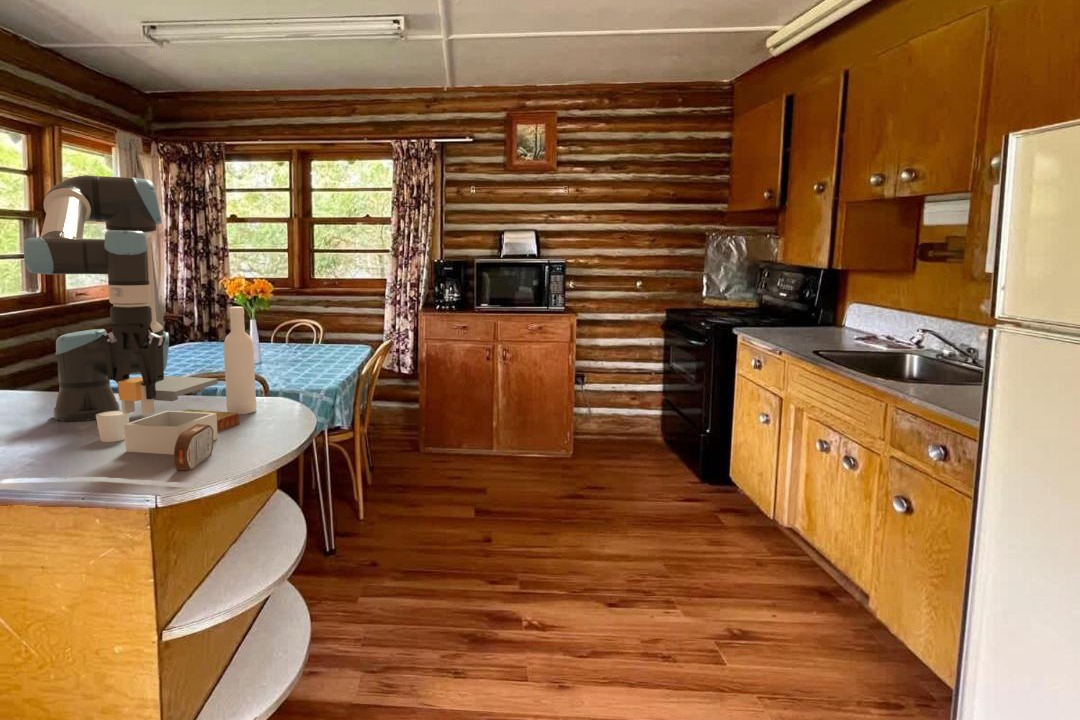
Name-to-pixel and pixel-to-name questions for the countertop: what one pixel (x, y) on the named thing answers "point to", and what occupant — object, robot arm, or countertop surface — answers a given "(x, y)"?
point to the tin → (193, 446)
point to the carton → (222, 418)
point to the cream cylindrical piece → (112, 425)
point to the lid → (164, 387)
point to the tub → (164, 430)
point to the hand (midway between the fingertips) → (138, 412)
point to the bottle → (239, 366)
